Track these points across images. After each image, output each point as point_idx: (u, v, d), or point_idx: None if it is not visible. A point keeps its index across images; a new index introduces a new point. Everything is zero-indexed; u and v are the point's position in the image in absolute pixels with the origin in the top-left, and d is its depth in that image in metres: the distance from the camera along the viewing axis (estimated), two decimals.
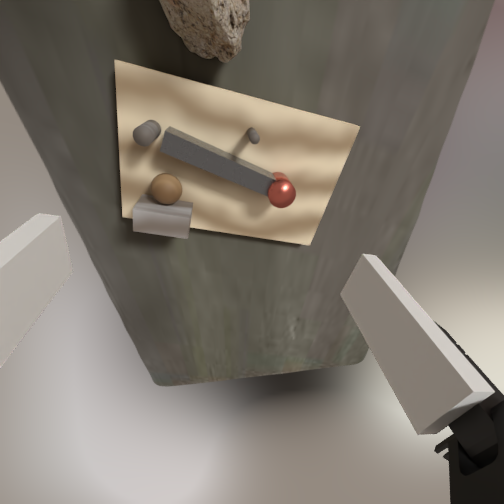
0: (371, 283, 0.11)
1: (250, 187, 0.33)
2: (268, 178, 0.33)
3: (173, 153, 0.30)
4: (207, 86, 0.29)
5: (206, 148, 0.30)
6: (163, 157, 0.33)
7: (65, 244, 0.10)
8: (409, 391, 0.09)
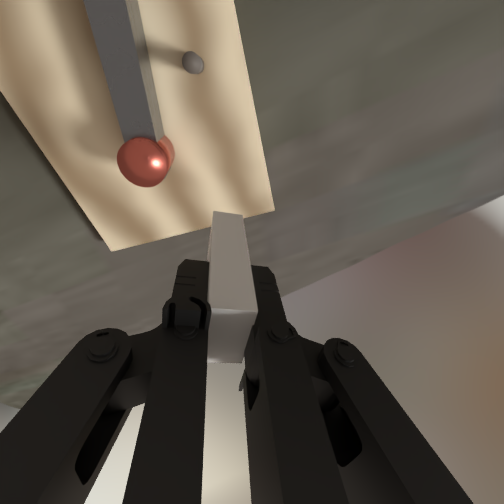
0: None
1: (116, 102, 0.18)
2: (151, 126, 0.19)
3: None
4: None
5: None
6: None
7: None
8: None
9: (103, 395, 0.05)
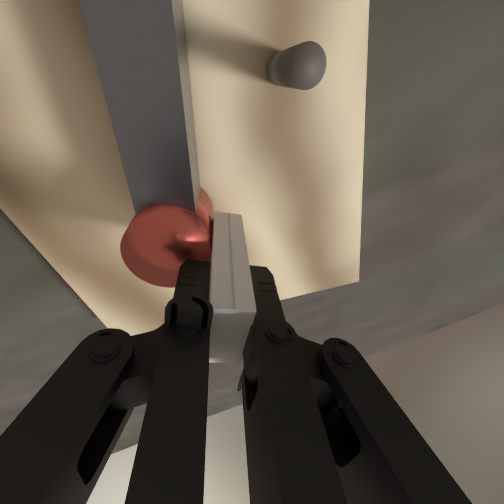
0: None
1: (124, 143, 0.09)
2: (188, 188, 0.10)
3: None
4: None
5: None
6: None
7: None
8: None
9: (105, 395, 0.05)
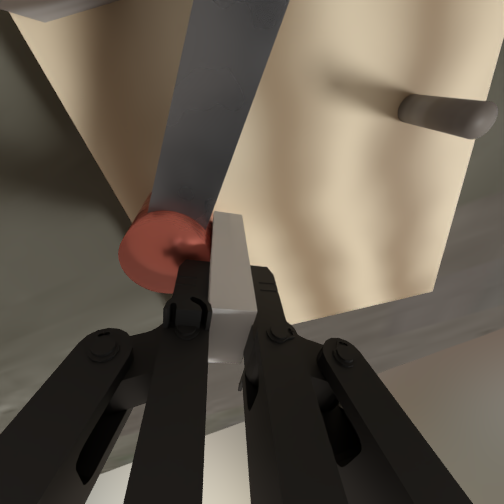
0: None
1: (168, 148, 0.09)
2: (210, 207, 0.10)
3: None
4: None
5: None
6: None
7: None
8: None
9: (104, 395, 0.05)
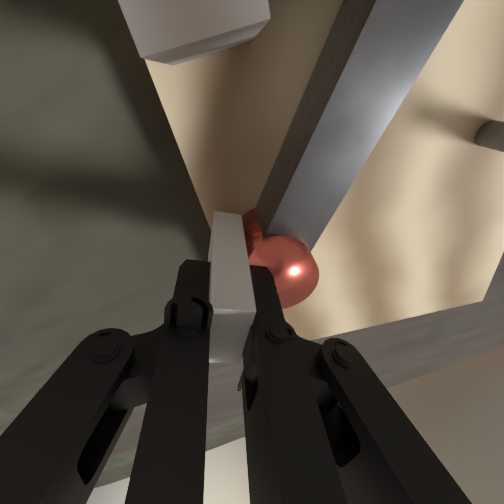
0: None
1: (296, 182, 0.10)
2: (319, 231, 0.11)
3: None
4: None
5: None
6: None
7: None
8: None
9: (105, 395, 0.05)
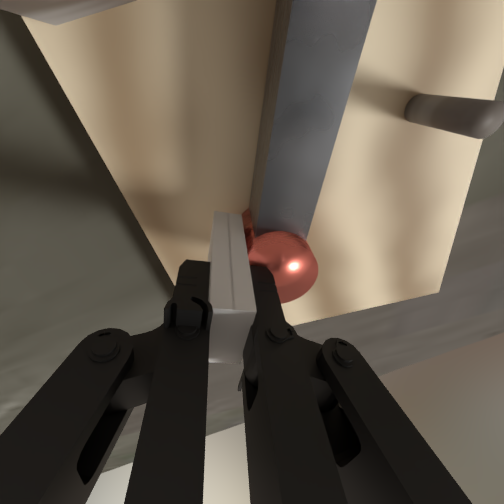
0: None
1: (270, 178, 0.10)
2: (308, 219, 0.11)
3: None
4: None
5: None
6: None
7: None
8: None
9: (105, 395, 0.05)
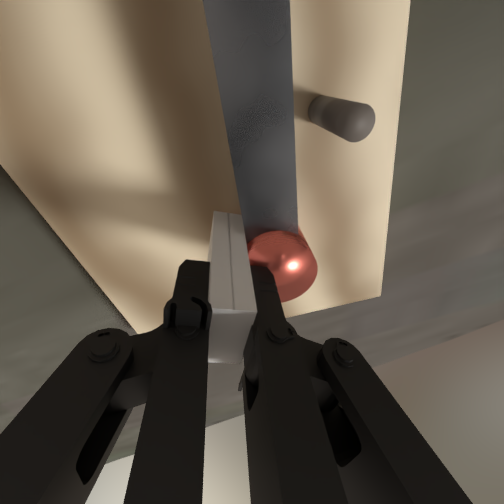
0: None
1: (242, 185, 0.10)
2: (294, 214, 0.11)
3: None
4: None
5: None
6: None
7: None
8: None
9: (104, 395, 0.05)
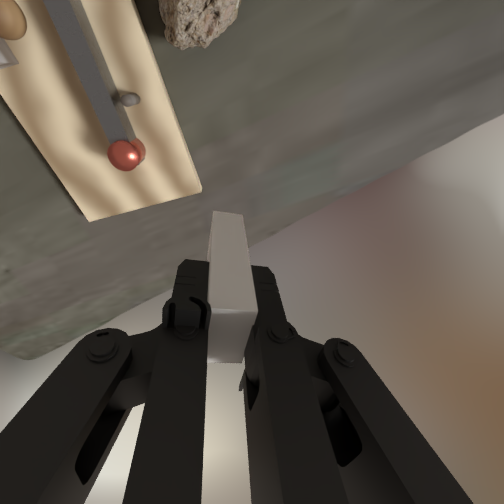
0: None
1: (101, 122, 0.30)
2: (124, 133, 0.31)
3: (50, 7, 0.25)
4: (139, 28, 0.29)
5: (90, 47, 0.27)
6: None
7: None
8: None
9: (103, 395, 0.05)
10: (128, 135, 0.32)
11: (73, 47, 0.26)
